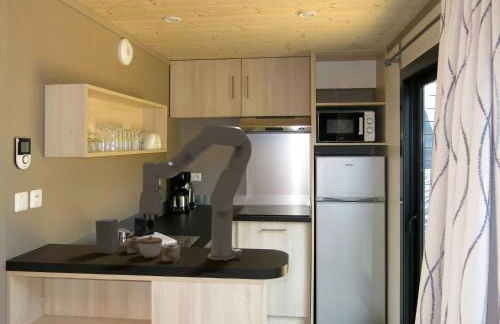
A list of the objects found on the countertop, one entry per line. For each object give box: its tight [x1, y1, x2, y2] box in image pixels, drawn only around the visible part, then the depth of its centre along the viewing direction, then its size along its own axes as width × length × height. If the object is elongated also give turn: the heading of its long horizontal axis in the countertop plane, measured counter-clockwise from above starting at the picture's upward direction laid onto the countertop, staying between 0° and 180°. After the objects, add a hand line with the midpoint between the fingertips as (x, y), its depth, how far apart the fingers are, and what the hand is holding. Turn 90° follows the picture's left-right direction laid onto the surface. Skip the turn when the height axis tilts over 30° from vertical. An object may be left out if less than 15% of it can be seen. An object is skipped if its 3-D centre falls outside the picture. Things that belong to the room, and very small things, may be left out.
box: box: [133, 215, 156, 238], centre depth 241 cm, size 11×7×10 cm, turn 148°
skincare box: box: [95, 218, 120, 255], centre depth 195 cm, size 8×7×16 cm
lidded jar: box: [138, 235, 163, 259], centre depth 190 cm, size 11×11×9 cm
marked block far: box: [126, 237, 142, 254], centre depth 198 cm, size 6×6×6 cm
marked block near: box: [161, 244, 181, 263], centre depth 183 cm, size 6×6×6 cm
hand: (150, 228), depth 190 cm, fingers closed
